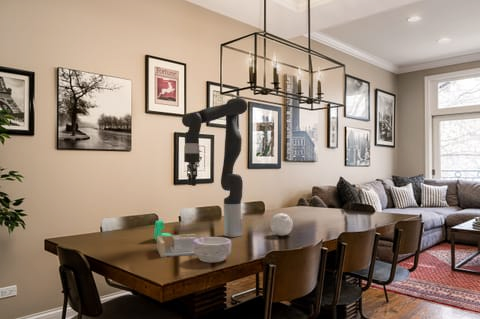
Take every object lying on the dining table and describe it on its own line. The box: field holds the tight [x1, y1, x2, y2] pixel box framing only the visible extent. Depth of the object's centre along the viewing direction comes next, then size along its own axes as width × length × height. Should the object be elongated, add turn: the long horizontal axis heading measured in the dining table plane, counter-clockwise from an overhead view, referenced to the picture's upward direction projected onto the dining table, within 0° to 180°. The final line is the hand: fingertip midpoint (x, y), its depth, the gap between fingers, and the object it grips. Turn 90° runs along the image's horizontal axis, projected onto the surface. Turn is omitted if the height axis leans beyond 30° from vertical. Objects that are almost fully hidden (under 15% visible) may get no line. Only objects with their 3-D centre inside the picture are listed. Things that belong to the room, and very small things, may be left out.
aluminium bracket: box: [172, 236, 198, 251], centre depth 165 cm, size 10×8×5 cm
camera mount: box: [153, 219, 172, 242], centre depth 190 cm, size 12×8×10 cm, turn 25°
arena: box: [156, 233, 198, 258], centre depth 164 cm, size 18×16×6 cm
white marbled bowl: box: [193, 236, 232, 264], centre depth 149 cm, size 15×15×8 cm
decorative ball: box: [270, 212, 294, 237], centre depth 200 cm, size 12×12×12 cm
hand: (191, 185), depth 185 cm, fingers open, 8 cm apart
